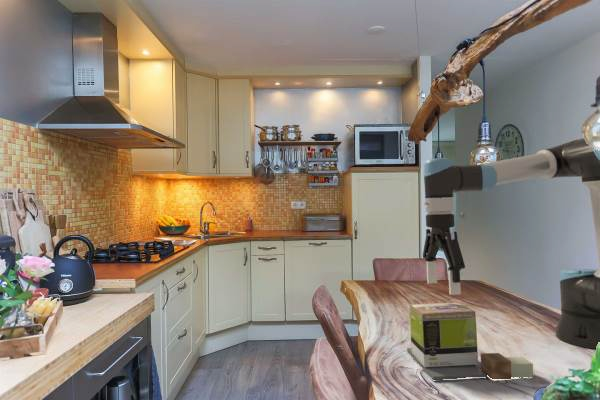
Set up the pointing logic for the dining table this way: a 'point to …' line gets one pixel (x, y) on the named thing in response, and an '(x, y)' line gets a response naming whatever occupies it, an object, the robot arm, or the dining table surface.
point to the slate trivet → (450, 370)
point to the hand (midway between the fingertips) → (442, 288)
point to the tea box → (443, 334)
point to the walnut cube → (496, 366)
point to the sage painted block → (520, 367)
